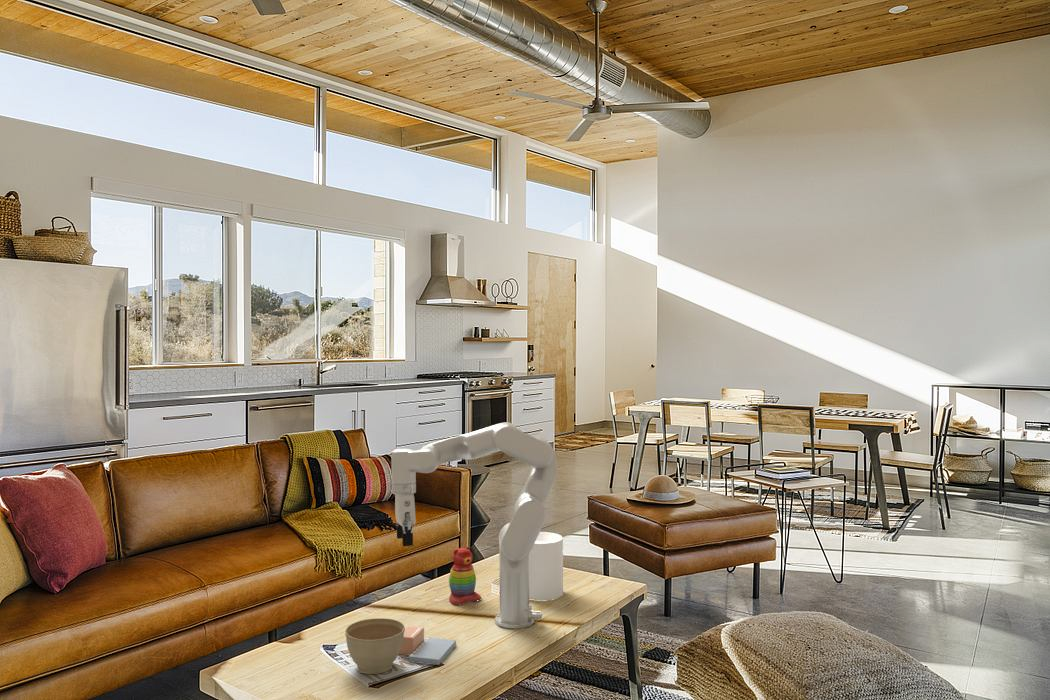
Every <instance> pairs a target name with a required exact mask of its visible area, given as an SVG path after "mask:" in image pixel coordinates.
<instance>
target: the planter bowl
mask: <svg viewBox="0 0 1050 700" xmlns="http://www.w3.org/2000/svg"><path fill="white" fill-rule="evenodd" d="M405 629H406V626H405V624H404V623H403V622H401V621H400V620H397V619H392V618H386V617H385V618H382V617H381V618H380V617H379V618H368V619H367V618H365V619H362V620H359V621H355V622H353V623H351V624H349V625H348V626H347V627H346V628H345V632H344V633H345V637H346V638H345V639H346V646H347V650H348V654H349V655H350V658H351V660H353V662H354V663H355V665H356V668H357V670H358V671H359V672H360V673H363V674H367V675H377V674H383V673H386V672H388V671H390V670H391V669H392V668H393V664H394V662H395V660H396V659H397V658H398V656H399V655H400V654H399V652H400V650H401V647H402V644H403V639H404V631H405Z"/></svg>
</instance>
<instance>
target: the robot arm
mask: <svg viewBox="0 0 1050 700" xmlns="http://www.w3.org/2000/svg"><path fill="white" fill-rule="evenodd" d="M499 452H502V453H504V454H506V455H508V456H509V457H511V458H513V459H515V460H518V461H520V462H522V463H524V464H527V465H529V466H530V467H531V468H530V472H529V475H528V477H527V479H526V481H525V484H524V485H523V488H522V489H521V492H520V494H519V496H518V498H517V499H516V501H515V503H514V514H513V516H512V518H511V521H510V522H507V523H506V524H504V526H502V528H501V530H500V531H499V535H498V549H499V551H498V552H499V553H498V554H499V556H498V557H499V613H498V614H497V615H496V616H495V617H494V623H495V624H496V625H498V626H499V627H501V628H505V629H522V628H527V627H529V626H531V625H533V624H534V622H535V620H538V621H539V620H540V621H542V620H543V613H541V611H540V610H533V606H532V605H530V600H529V553H530V551H531V549H532V547H533V545H534V543H535V541H536V539H537V537H538V535H539V533H540V532H542V531H541V530H542V528H543V526H544V524H545V521H546V516H547V511H546V504H547V501H548V500H549V497H550V495H551V492H552V490H553V489H554V488H553V487H554V486H555V483H556V480H557V477H558V470H559V469H558V460H557V455H556V453H555V451H554V449H553V447H552V446H551V444H550V442H549V441H548V440H547V439H545V438H544V437H542V436H532V435H530V434H528V433H526V432H524V431H522V430H520V429H518V428H517V426H516V425H515V424H513V423H511V422H509V421H506V422H505V421H504V422H500V423H496V424H492V425H490V426H486V427H484V428H480V429H478V430H474V431H470V432H468V433H467V432H466V433H464V434H459V435H457V436H454V437H449V438H445V439H442V440H438V441H436V442H431V443H429V444H426V445H424V446H422V447H421V448H420V449H419V450H414V449H412V448H407V447H406V448H405V447H404V448H396V449H394V450H392V452H391V455H390V457H391V494H393V495H394V498H395V499H394V501H395V502H394V512H395V520H396V539H397V540H399V539H402V542H401V543H402V546H403V547H412V546H414V533H413V532H414V531H413V526H415V525H416V522H417V521H416V503H415V495H414V494H416V493H417V480H416V478H417V477H416V475H417V474H416V473H421V474H430V473H433V472H434V471H436V470H437V469H438V467H439V466H440V465H443V464H446V463H447V464H448V463H449V462H453V461H458V460H476V459H479V458H482V457H486V456H488V455H491V454H495V453H499Z"/></svg>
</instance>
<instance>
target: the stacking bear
mask: <svg viewBox="0 0 1050 700" xmlns="http://www.w3.org/2000/svg"><path fill="white" fill-rule="evenodd" d="M471 551H472V550H471V548H470V547H469V546H466V547H459V548H455V549H454V550H453V553H452V560H453V561H452V562H453V563H454V564H453V565H452V567H451V568H450V572H449V575H448V576H449V577H448V584H449V585H448V586H449V590H450V594H449V599H448V600H449V602H450V604H452V605H453V604H454V606H460V605H459V604H462V605H464V604H466V603H465V602H467V603H469V602H468V601H477V600H480V599H481V600H482V597H481V595H480V594H479V593H477V592H476V591H475V590H476V583H477V576H476V572H475V569H474V566H473V564H472V562H473V558H474V557H473V556H474V555H473V554H472V553H473V552H471ZM481 600H480V601H481ZM463 603H464V604H463Z"/></svg>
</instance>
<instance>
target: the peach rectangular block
mask: <svg viewBox="0 0 1050 700" xmlns="http://www.w3.org/2000/svg"><path fill="white" fill-rule="evenodd" d="M424 640H425V628H424V627H421V626H410V625H408V626H407V627H405V631H404V639H403V644H402V647H401V650H400V652H399V654H398V655H406V656H410V655H411V654H412V653H413V652H414V651H415V650H416V649H417V648H418V647H419V645H420V644H421V643H422V642H423V641H424Z"/></svg>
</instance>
